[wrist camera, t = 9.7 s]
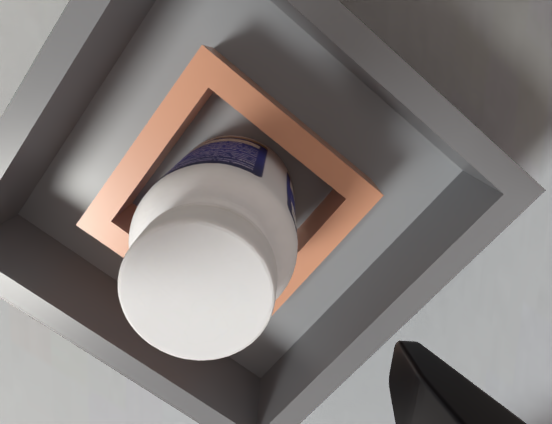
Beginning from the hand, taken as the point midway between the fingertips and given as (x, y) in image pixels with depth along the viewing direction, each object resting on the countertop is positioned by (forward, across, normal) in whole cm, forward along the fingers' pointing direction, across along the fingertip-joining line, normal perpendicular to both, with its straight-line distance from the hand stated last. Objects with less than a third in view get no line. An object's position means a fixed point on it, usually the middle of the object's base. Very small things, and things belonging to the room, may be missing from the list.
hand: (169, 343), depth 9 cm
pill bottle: (+11, 0, 0) cm, 11 cm away
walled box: (+12, 0, 0) cm, 12 cm away
